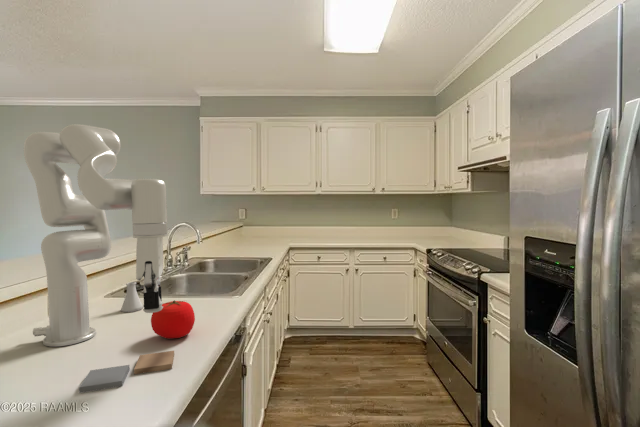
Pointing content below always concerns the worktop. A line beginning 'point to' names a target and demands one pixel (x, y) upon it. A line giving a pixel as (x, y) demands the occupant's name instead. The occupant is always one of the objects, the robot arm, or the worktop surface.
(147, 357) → the walnut coaster
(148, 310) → the rook chess piece
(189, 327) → the tomato
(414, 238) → the worktop surface
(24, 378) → the worktop surface
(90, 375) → the charcoal coaster
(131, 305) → the flask
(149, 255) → the robot arm
